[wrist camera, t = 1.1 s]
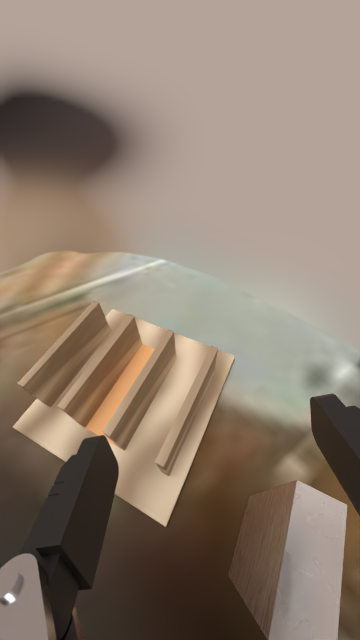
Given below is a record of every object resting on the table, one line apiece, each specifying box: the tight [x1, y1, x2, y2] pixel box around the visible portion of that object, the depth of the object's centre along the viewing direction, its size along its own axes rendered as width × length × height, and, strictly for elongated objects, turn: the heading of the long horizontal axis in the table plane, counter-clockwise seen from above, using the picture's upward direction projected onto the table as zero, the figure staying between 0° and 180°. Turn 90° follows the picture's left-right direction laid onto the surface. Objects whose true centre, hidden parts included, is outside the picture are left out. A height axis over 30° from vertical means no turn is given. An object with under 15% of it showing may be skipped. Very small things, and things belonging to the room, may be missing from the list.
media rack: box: [13, 301, 235, 527], centre depth 28 cm, size 19×19×7 cm
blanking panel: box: [228, 480, 347, 640], centre depth 17 cm, size 2×6×14 cm, turn 154°
